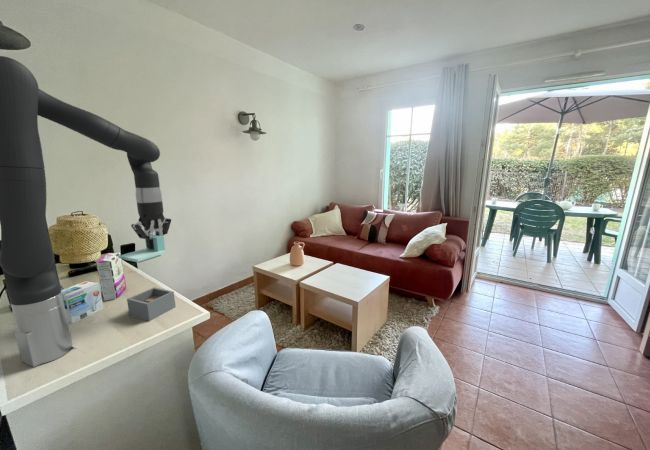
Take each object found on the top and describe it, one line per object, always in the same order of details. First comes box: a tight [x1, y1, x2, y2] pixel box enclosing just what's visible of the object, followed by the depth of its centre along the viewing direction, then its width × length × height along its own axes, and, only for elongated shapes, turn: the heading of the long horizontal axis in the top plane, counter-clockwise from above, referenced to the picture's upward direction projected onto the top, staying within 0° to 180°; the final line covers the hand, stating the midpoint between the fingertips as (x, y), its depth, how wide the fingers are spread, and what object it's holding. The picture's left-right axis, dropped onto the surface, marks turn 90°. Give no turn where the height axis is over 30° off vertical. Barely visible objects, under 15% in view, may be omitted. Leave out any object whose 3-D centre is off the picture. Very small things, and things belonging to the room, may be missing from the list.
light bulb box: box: [61, 281, 104, 325], centre depth 91 cm, size 11×7×11 cm, turn 168°
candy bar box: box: [95, 252, 127, 302], centre depth 107 cm, size 11×5×16 cm, turn 22°
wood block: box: [145, 296, 159, 303], centre depth 97 cm, size 4×4×4 cm
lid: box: [118, 234, 166, 263], centre depth 91 cm, size 11×10×7 cm
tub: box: [126, 286, 176, 322], centre depth 94 cm, size 10×10×7 cm
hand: (155, 247), depth 95 cm, fingers closed on lid, 2 cm apart
